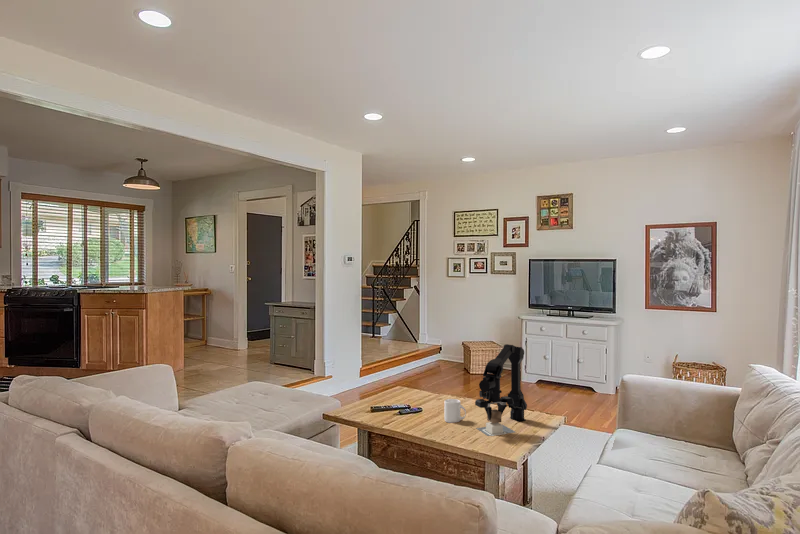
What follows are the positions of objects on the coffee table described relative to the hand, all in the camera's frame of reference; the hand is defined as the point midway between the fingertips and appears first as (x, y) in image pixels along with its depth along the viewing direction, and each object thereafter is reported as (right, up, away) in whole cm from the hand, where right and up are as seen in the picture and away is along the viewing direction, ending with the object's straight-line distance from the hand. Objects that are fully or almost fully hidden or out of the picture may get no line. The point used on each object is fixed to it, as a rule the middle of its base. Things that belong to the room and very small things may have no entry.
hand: (494, 419), depth 235 cm
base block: (0, -6, 0) cm, 6 cm away
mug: (-17, -7, +18) cm, 26 cm away
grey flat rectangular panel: (+1, -7, +3) cm, 7 cm away
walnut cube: (0, -1, 0) cm, 1 cm away
